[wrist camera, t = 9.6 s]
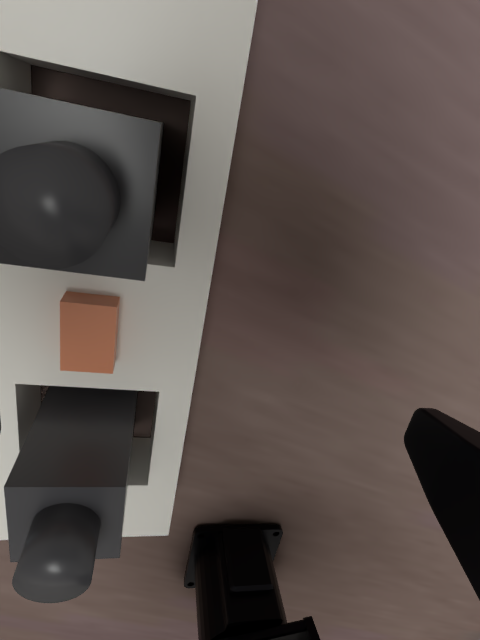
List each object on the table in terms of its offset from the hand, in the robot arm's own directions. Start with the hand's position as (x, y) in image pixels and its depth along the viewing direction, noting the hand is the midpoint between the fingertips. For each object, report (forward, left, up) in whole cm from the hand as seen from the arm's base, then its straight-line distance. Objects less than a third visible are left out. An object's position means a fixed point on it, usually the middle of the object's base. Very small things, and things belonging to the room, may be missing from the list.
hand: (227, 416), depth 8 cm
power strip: (-3, +4, -12) cm, 13 cm away
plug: (+3, +4, -12) cm, 13 cm away
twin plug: (-9, +4, -12) cm, 15 cm away
